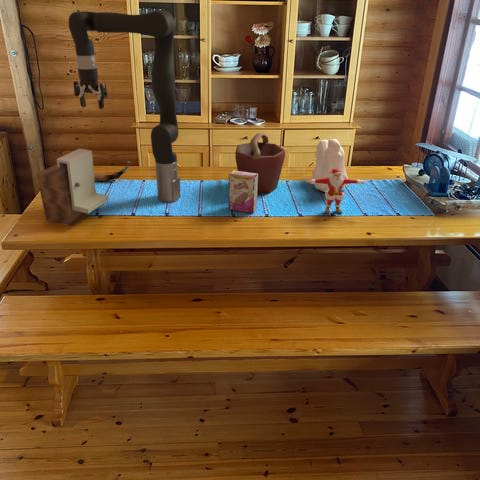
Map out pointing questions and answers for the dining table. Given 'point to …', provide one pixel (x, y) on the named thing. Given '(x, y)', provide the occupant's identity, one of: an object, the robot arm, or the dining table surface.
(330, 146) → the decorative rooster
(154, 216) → the dining table surface
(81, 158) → the white angled bracket
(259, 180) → the bucket
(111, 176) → the drinking horn
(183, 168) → the dining table surface
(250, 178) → the candy bar box
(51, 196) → the cabinet
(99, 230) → the dining table surface
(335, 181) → the santa figurine
